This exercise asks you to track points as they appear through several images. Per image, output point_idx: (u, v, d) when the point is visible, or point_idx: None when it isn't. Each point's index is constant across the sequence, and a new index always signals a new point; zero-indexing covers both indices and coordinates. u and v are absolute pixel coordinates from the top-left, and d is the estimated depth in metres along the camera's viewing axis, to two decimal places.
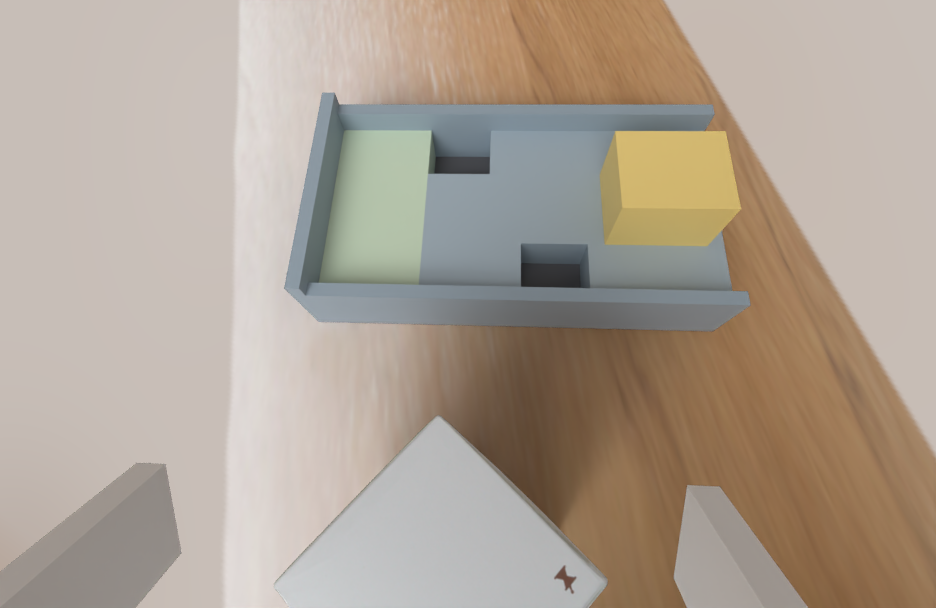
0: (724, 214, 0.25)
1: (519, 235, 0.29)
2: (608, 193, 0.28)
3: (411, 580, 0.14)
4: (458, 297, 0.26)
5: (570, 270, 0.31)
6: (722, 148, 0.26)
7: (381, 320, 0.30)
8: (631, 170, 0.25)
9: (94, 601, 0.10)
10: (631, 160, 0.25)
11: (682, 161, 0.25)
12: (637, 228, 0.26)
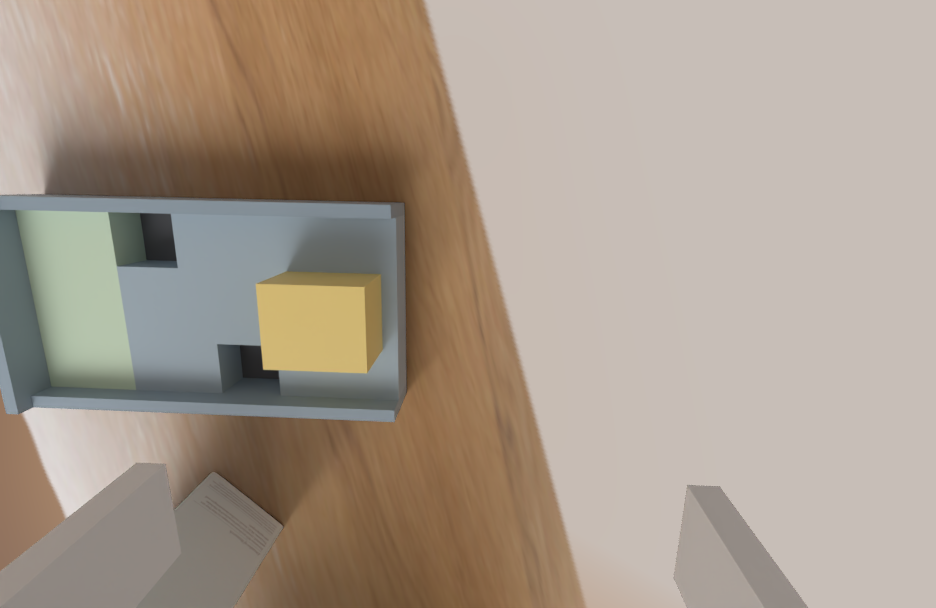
0: None
1: (214, 336, 0.31)
2: None
3: None
4: (158, 411, 0.31)
5: None
6: (358, 307, 0.26)
7: None
8: (271, 330, 0.26)
9: (94, 601, 0.10)
10: (271, 319, 0.26)
11: (319, 322, 0.26)
12: None
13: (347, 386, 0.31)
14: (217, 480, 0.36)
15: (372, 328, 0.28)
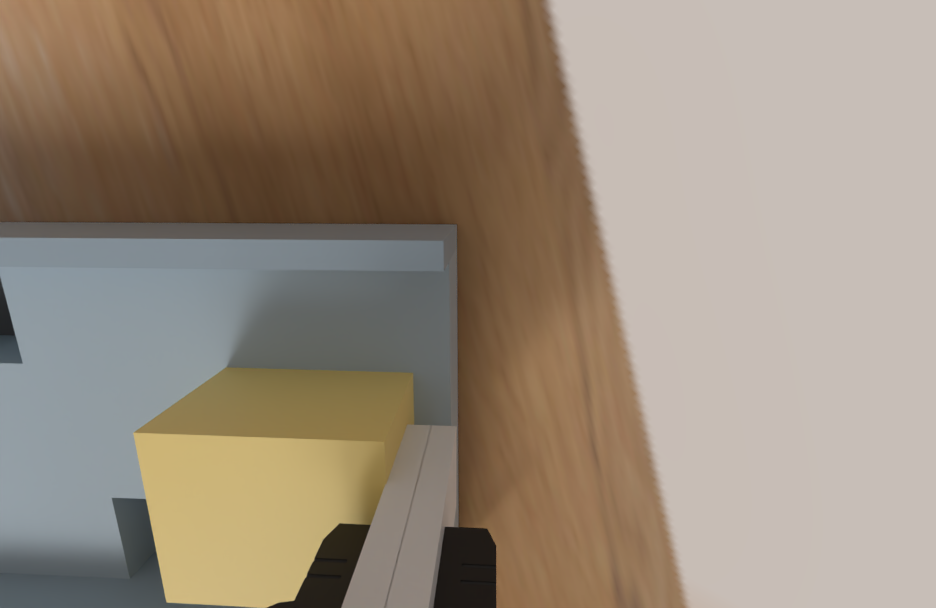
0: None
1: (106, 484, 0.16)
2: None
3: None
4: None
5: None
6: (371, 485, 0.11)
7: None
8: (177, 528, 0.12)
9: None
10: (175, 506, 0.12)
11: (282, 513, 0.11)
12: None
13: None
14: None
15: None
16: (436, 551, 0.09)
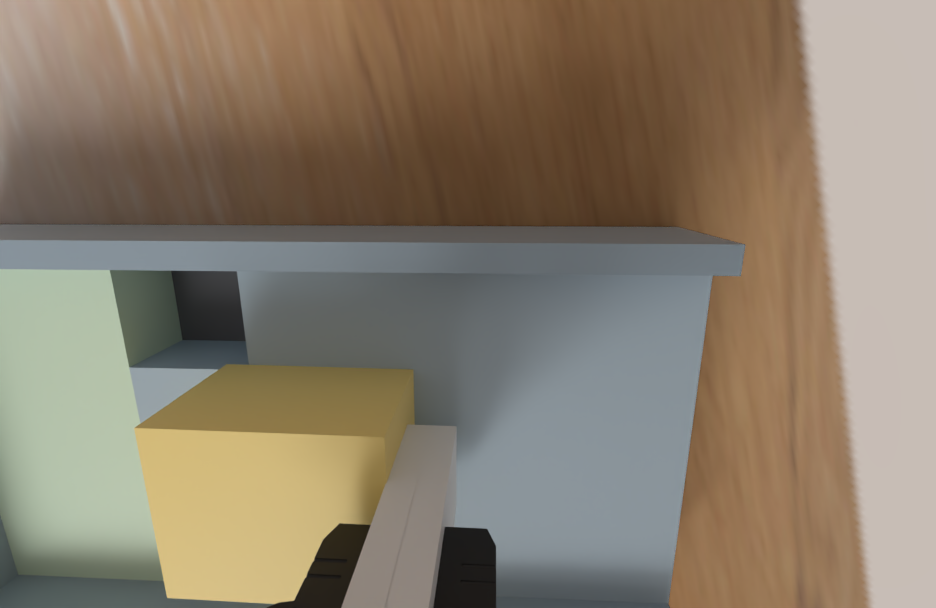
0: None
1: None
2: None
3: None
4: None
5: None
6: (371, 480, 0.11)
7: None
8: (177, 523, 0.12)
9: None
10: (175, 501, 0.12)
11: (282, 509, 0.12)
12: None
13: (570, 579, 0.16)
14: None
15: None
16: (436, 551, 0.09)
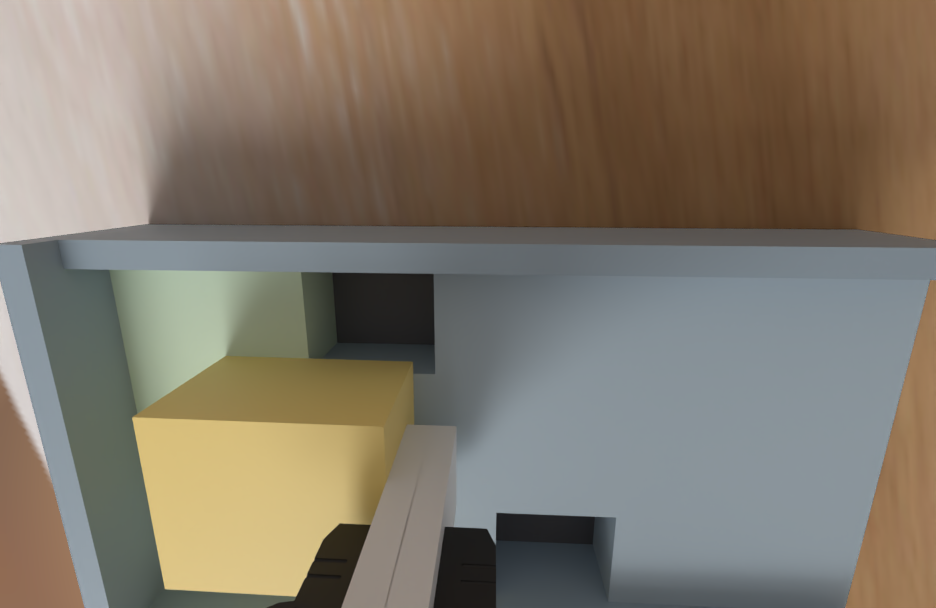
0: None
1: (494, 498, 0.16)
2: None
3: None
4: None
5: None
6: (371, 470, 0.11)
7: None
8: (175, 514, 0.12)
9: None
10: (174, 491, 0.12)
11: (281, 499, 0.11)
12: None
13: (745, 588, 0.16)
14: None
15: None
16: (436, 551, 0.09)
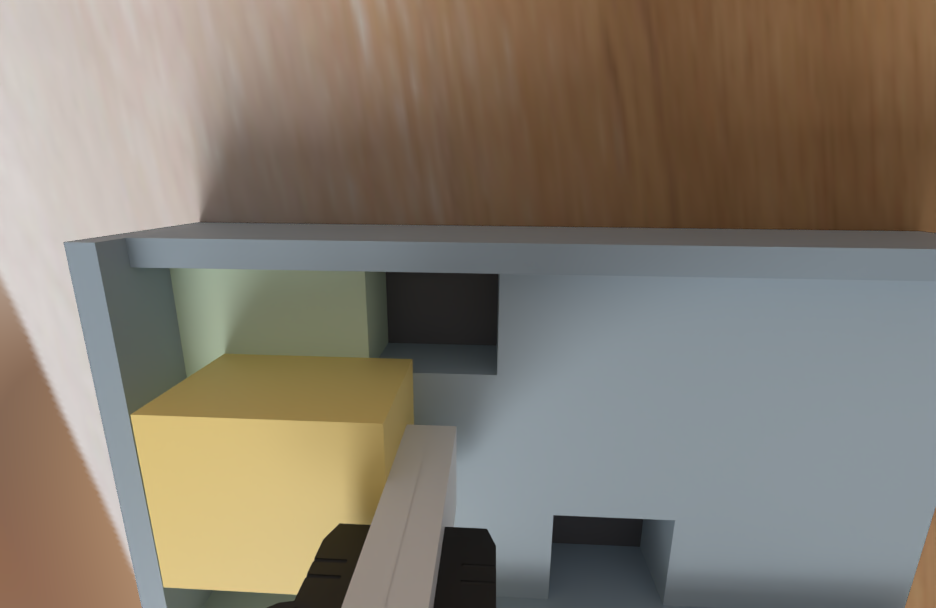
0: None
1: (551, 501, 0.16)
2: None
3: None
4: None
5: None
6: (370, 467, 0.11)
7: None
8: (174, 512, 0.12)
9: None
10: (172, 489, 0.12)
11: (280, 496, 0.11)
12: None
13: (802, 592, 0.16)
14: None
15: None
16: (436, 551, 0.09)
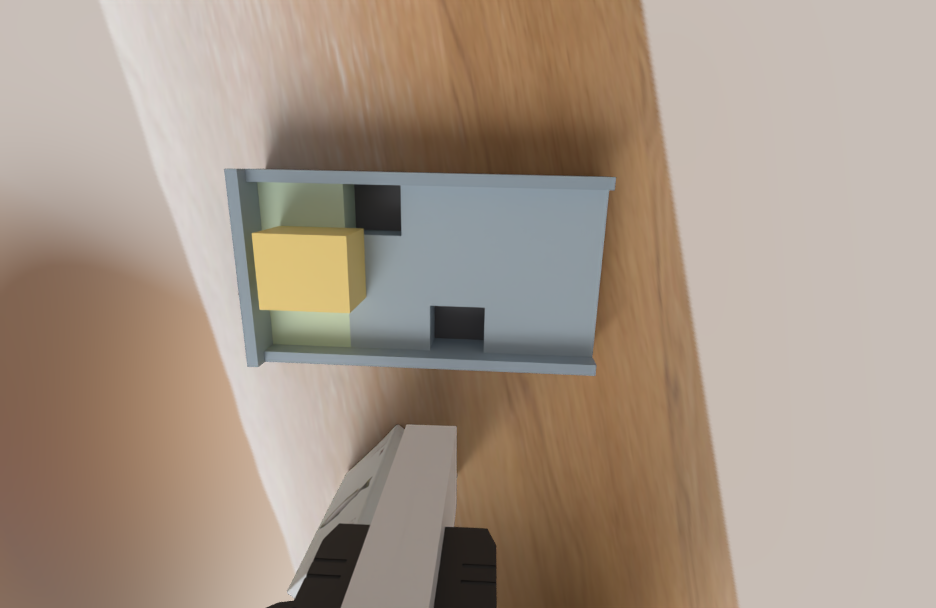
0: None
1: (428, 298, 0.34)
2: None
3: None
4: (379, 365, 0.34)
5: None
6: (341, 254, 0.29)
7: None
8: (266, 275, 0.30)
9: None
10: (265, 265, 0.30)
11: (307, 267, 0.30)
12: None
13: (546, 344, 0.35)
14: (403, 432, 0.40)
15: (355, 275, 0.31)
16: (436, 551, 0.09)
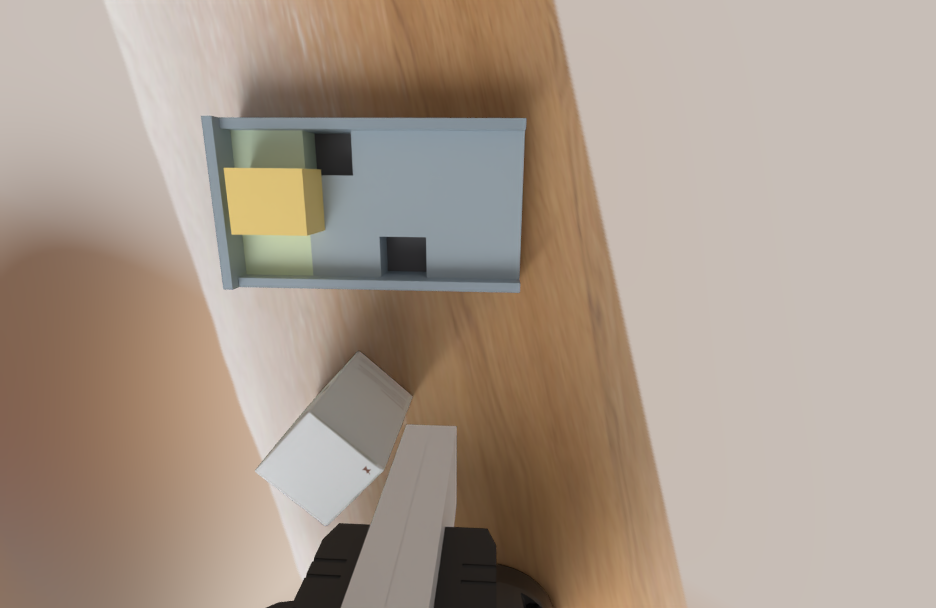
0: None
1: (378, 230, 0.40)
2: None
3: (307, 470, 0.35)
4: (336, 287, 0.40)
5: (423, 238, 0.43)
6: (298, 184, 0.35)
7: None
8: (236, 203, 0.36)
9: None
10: (235, 195, 0.36)
11: (270, 196, 0.36)
12: None
13: (479, 269, 0.40)
14: (363, 357, 0.46)
15: (312, 205, 0.37)
16: (436, 551, 0.09)
